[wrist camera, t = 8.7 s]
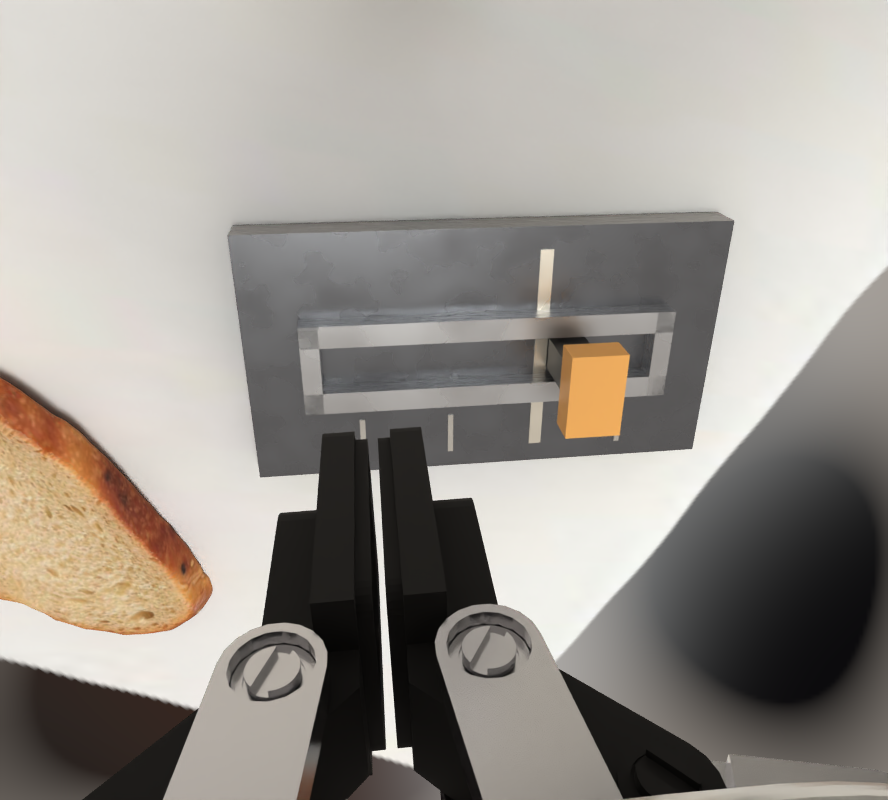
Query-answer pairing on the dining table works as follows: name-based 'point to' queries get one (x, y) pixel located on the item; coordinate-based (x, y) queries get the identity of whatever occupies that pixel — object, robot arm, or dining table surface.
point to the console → (471, 330)
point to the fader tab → (588, 385)
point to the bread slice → (85, 532)
